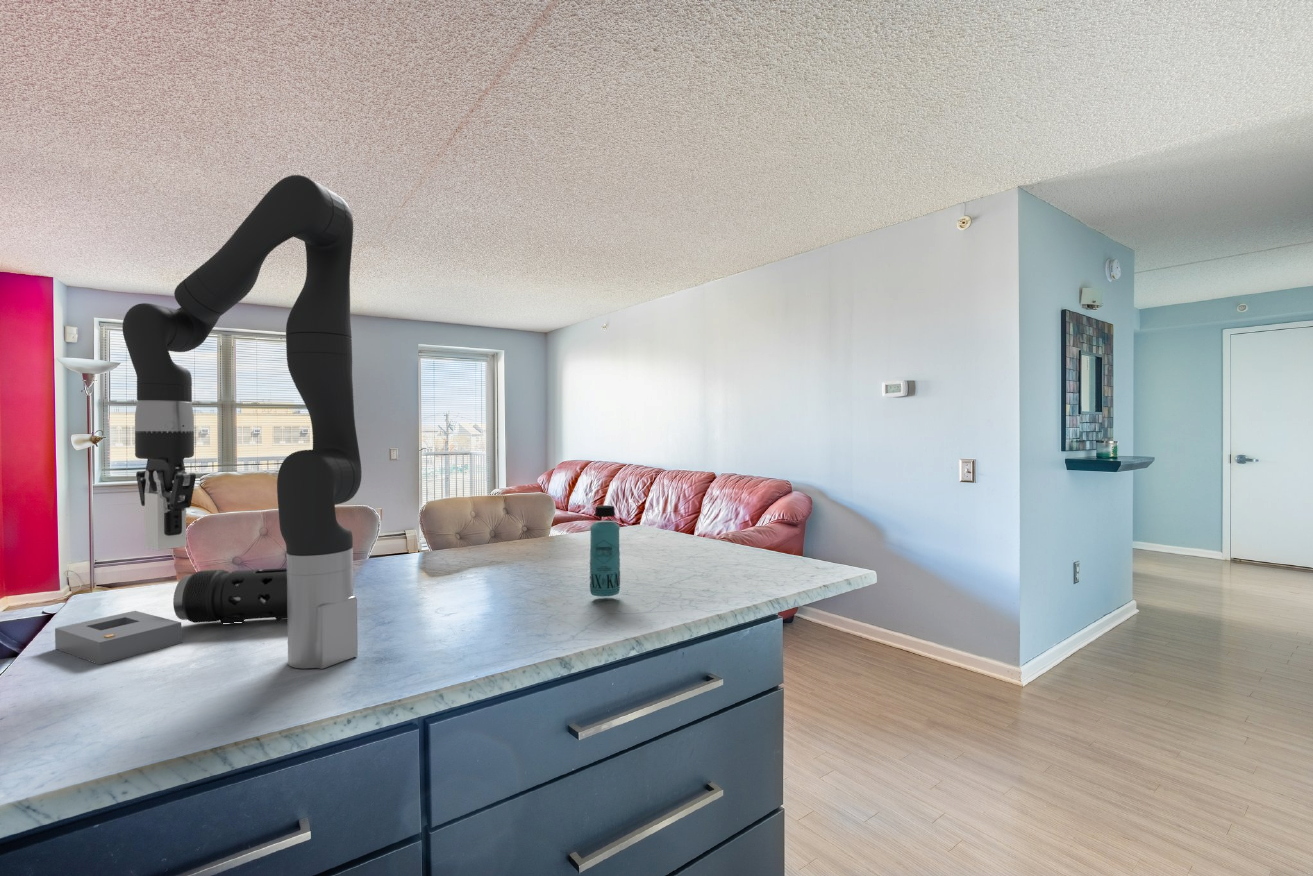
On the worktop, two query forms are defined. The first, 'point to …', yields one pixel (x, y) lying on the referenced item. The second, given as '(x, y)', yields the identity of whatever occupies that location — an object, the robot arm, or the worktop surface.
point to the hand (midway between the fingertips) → (165, 533)
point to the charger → (160, 525)
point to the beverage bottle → (604, 555)
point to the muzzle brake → (231, 595)
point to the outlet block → (117, 636)
